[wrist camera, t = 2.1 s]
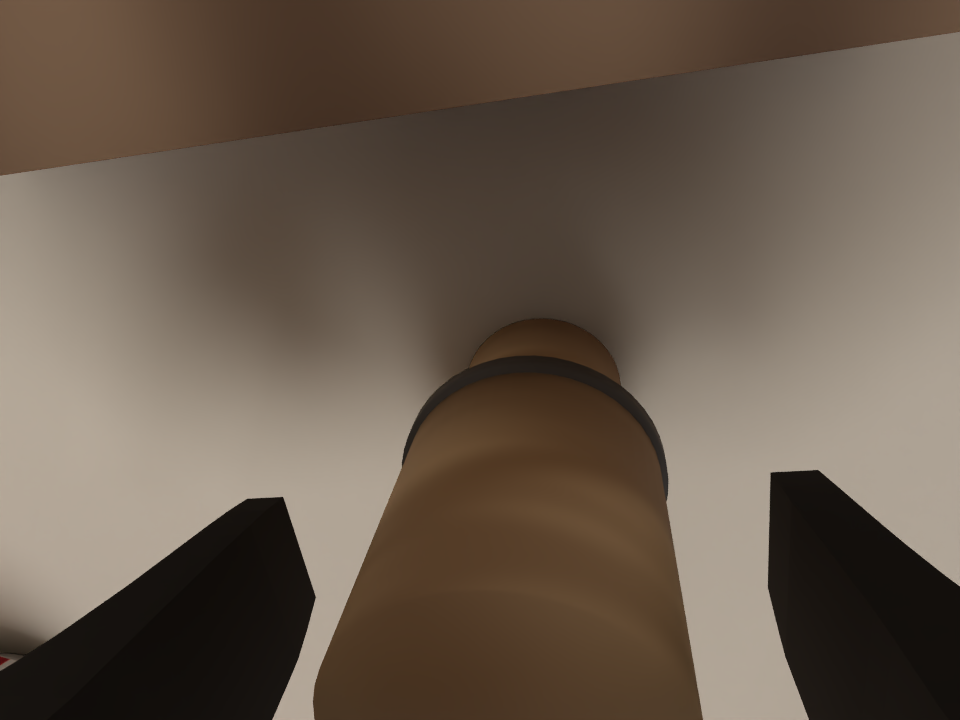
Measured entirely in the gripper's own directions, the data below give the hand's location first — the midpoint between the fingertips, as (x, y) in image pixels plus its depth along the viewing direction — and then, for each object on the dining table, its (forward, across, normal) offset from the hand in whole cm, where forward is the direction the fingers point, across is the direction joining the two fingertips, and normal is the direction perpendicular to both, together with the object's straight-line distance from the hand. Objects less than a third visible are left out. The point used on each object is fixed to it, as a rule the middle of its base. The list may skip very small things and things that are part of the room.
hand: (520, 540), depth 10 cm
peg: (+5, 0, 0) cm, 5 cm away
